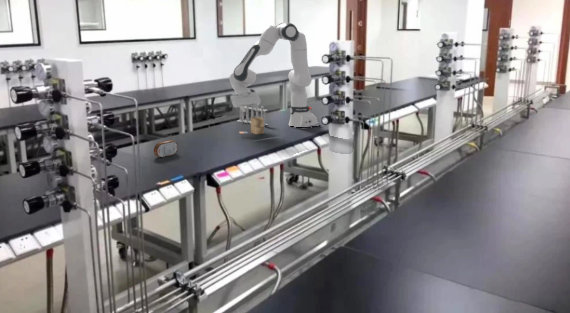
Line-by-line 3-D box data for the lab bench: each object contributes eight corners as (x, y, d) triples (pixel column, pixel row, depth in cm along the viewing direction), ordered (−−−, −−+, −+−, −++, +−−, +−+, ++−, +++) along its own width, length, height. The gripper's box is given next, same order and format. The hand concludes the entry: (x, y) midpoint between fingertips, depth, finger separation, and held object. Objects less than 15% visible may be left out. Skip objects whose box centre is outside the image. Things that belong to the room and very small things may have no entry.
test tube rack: (268, 125, 362) (268, 106, 359) (264, 126, 359) (264, 107, 355) (240, 120, 376) (240, 102, 372) (236, 121, 373) (236, 103, 369)
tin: (175, 152, 289) (175, 138, 287) (179, 153, 287) (178, 139, 285) (153, 158, 278) (152, 143, 276) (157, 159, 276) (156, 144, 274)
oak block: (258, 131, 339) (258, 116, 336) (263, 133, 335) (263, 118, 332) (250, 132, 336) (250, 117, 333) (255, 134, 331) (255, 119, 328)
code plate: (260, 130, 345) (260, 129, 345) (267, 135, 333) (267, 133, 333) (230, 132, 338) (230, 131, 337) (236, 137, 325) (236, 136, 325)
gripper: (230, 92, 334) (239, 109, 329) (257, 89, 346) (265, 106, 341) (227, 98, 339) (235, 115, 334) (253, 95, 350) (261, 111, 346)
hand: (250, 110), depth 337 cm, fingers open, 8 cm apart
